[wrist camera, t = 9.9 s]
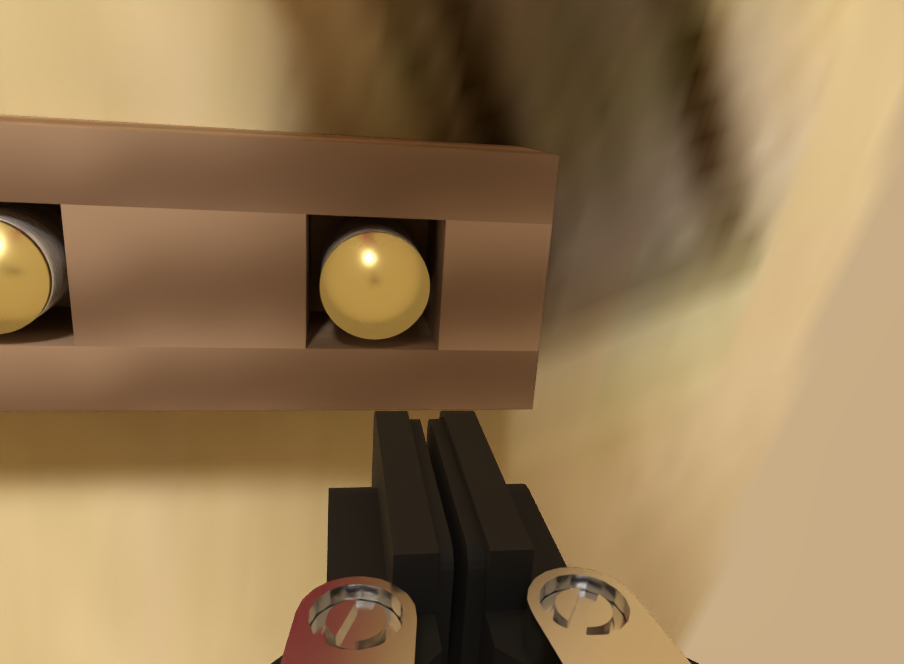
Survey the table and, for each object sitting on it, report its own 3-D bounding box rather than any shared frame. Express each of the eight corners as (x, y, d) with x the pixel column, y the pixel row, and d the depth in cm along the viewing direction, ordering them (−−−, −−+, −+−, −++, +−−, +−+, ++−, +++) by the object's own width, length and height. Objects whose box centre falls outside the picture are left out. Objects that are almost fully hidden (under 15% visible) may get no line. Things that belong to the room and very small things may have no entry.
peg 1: (-26, 197, 27) (-94, 215, 23) (87, 202, 27) (41, 219, 23) (-12, 298, 28) (-74, 333, 24) (96, 301, 29) (54, 335, 24)
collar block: (-144, 106, 27) (-271, 107, 21) (519, 145, 31) (559, 155, 25) (-99, 353, 30) (-200, 412, 24) (500, 358, 34) (532, 409, 28)
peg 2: (322, 211, 29) (319, 230, 25) (419, 216, 30) (433, 235, 25) (321, 305, 30) (319, 338, 26) (414, 307, 31) (427, 340, 27)
